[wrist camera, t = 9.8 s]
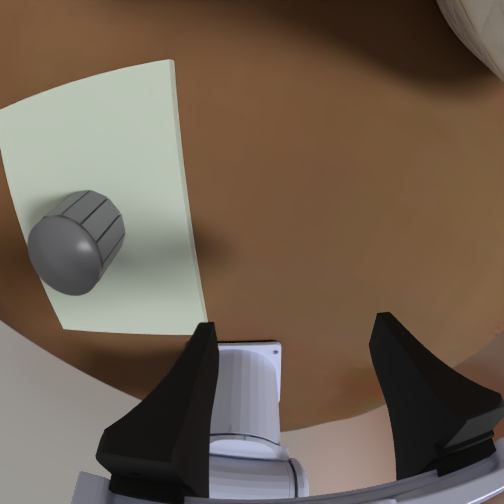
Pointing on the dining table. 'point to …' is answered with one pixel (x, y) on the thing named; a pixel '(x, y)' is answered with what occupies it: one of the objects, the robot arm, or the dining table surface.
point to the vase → (479, 29)
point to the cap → (76, 242)
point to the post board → (113, 192)
